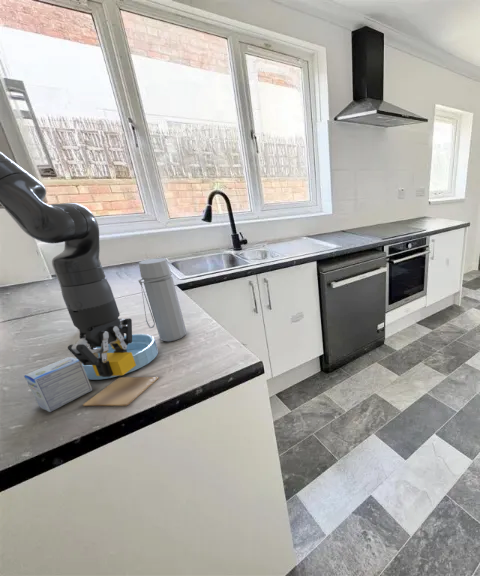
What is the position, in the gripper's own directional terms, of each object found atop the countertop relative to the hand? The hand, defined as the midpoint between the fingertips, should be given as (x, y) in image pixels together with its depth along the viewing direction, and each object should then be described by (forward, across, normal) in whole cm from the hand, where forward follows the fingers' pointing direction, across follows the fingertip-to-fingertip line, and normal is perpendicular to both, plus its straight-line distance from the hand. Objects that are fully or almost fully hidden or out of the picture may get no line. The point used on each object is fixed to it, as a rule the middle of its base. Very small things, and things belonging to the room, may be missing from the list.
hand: (116, 369), depth 71 cm
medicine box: (+6, +3, -11) cm, 13 cm away
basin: (+6, -12, -10) cm, 17 cm away
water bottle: (+6, -26, -6) cm, 27 cm away
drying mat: (+6, 0, 0) cm, 6 cm away
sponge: (0, 0, 0) cm, 0 cm away
